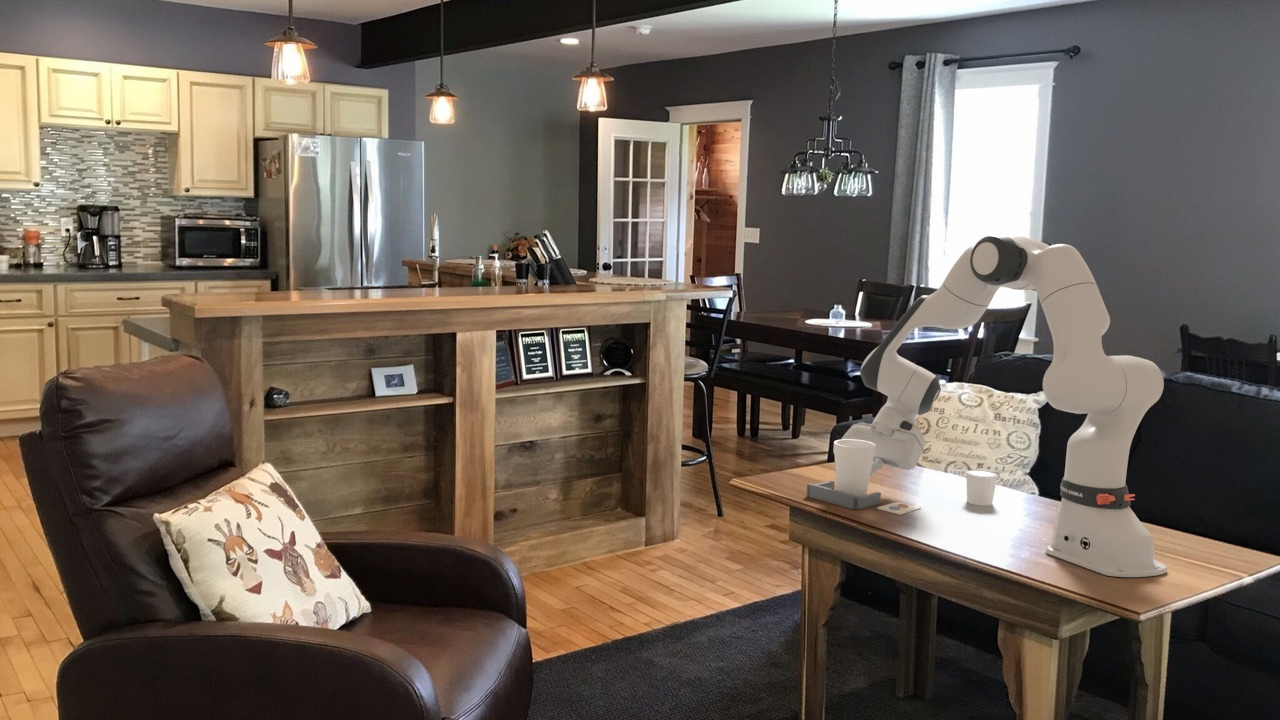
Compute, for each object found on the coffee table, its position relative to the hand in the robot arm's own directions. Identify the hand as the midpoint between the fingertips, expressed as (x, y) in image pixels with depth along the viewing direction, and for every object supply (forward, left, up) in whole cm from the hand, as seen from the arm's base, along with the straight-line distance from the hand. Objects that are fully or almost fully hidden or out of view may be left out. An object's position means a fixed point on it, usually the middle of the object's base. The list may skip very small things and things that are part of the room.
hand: (863, 474), depth 247 cm
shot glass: (-11, -24, -5) cm, 27 cm away
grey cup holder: (-4, +7, -5) cm, 9 cm away
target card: (-13, -2, -5) cm, 14 cm away
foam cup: (-3, +4, -5) cm, 7 cm away
